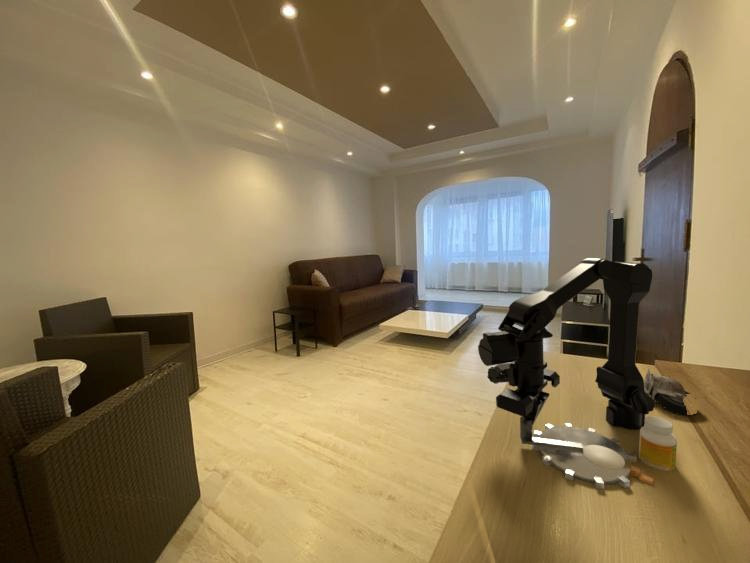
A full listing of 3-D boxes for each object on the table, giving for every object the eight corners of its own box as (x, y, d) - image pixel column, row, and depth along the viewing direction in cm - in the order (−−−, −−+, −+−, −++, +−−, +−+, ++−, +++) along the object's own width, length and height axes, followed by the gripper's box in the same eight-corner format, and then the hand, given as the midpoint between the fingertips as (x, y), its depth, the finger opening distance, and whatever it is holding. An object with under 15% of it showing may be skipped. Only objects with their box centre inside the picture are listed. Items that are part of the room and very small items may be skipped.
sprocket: (527, 417, 78) (527, 393, 78) (632, 442, 67) (633, 414, 66) (515, 463, 63) (515, 434, 62) (647, 504, 52) (649, 469, 51)
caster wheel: (698, 427, 77) (646, 412, 81) (685, 397, 86) (639, 386, 90) (708, 406, 74) (654, 392, 79) (694, 378, 83) (646, 367, 88)
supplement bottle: (678, 481, 58) (681, 433, 57) (641, 471, 61) (643, 425, 60) (670, 462, 63) (673, 418, 61) (636, 454, 65) (638, 411, 64)
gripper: (512, 339, 80) (514, 396, 82) (471, 363, 68) (475, 429, 70) (560, 348, 71) (560, 412, 73) (523, 377, 59) (525, 451, 61)
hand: (530, 424), depth 70 cm, fingers closed
